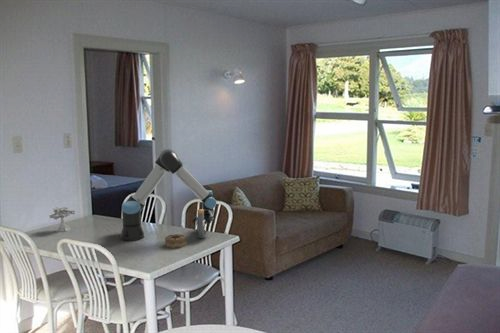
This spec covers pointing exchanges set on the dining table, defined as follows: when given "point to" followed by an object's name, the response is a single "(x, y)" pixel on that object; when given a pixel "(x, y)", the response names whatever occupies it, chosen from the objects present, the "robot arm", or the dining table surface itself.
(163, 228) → the dining table surface
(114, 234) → the dining table surface
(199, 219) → the grey upright bar
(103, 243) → the dining table surface
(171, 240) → the brown ring
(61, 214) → the grey branching stemmed part
